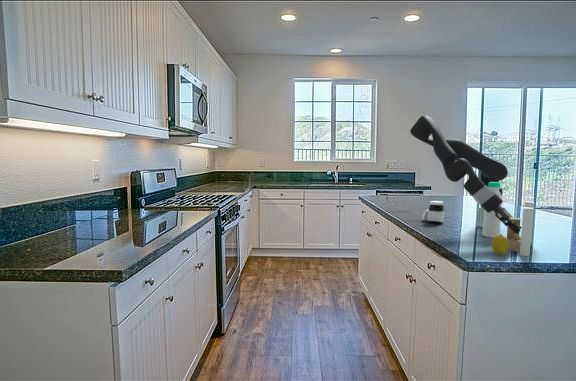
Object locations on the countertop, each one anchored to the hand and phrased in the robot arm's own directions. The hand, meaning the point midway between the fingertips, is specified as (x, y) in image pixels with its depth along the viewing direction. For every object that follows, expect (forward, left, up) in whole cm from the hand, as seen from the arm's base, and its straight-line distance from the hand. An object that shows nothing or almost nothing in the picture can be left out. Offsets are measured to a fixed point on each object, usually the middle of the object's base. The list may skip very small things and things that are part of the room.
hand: (518, 230), depth 143 cm
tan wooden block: (-2, -1, -7) cm, 7 cm away
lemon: (+3, -16, -7) cm, 18 cm away
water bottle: (-18, +8, -7) cm, 21 cm away
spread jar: (-53, +9, -8) cm, 54 cm away
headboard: (0, 0, -7) cm, 7 cm away
